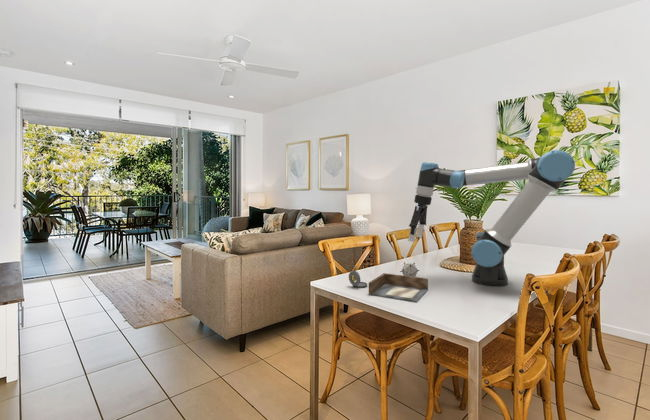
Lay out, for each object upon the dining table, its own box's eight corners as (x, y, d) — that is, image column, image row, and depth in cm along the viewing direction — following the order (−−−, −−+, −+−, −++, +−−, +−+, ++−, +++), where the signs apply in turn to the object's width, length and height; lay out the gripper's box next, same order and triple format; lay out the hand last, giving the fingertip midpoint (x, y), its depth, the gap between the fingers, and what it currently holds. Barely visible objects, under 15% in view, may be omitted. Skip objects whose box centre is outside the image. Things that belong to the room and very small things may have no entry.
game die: (411, 285, 165) (421, 268, 167) (414, 284, 157) (424, 265, 159) (395, 275, 167) (405, 258, 169) (397, 273, 159) (407, 255, 161)
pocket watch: (368, 284, 155) (368, 262, 154) (365, 289, 147) (365, 267, 146) (350, 283, 157) (350, 262, 157) (347, 288, 149) (347, 266, 148)
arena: (427, 290, 145) (428, 278, 145) (416, 302, 130) (416, 289, 129) (383, 284, 155) (383, 273, 155) (368, 294, 140) (368, 282, 139)
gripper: (422, 193, 170) (414, 234, 173) (408, 194, 148) (399, 240, 152) (437, 196, 166) (429, 237, 170) (425, 197, 145) (415, 245, 148)
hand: (415, 239), depth 161 cm, fingers open, 13 cm apart
